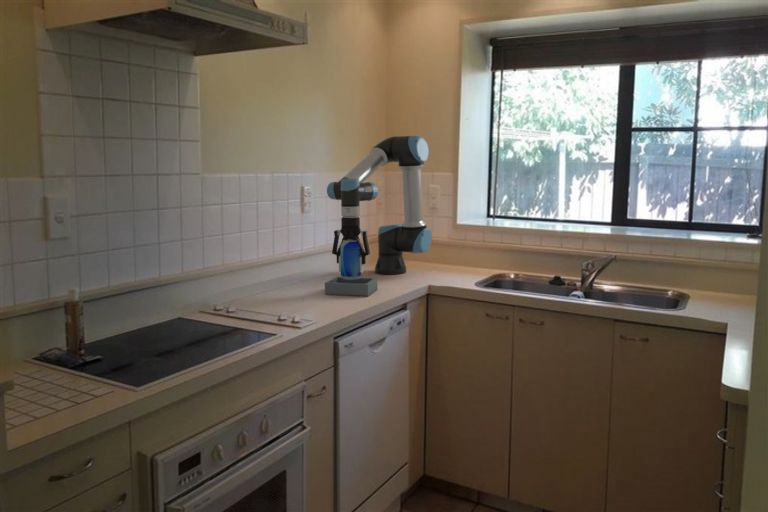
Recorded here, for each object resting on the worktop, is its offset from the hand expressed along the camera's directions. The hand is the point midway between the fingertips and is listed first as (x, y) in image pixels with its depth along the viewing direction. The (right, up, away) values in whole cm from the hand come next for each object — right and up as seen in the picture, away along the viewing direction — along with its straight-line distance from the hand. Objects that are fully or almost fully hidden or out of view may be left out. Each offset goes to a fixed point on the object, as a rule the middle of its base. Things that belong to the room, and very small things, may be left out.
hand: (351, 271), depth 271 cm
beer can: (0, -3, 0) cm, 3 cm away
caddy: (0, -9, +1) cm, 9 cm away
